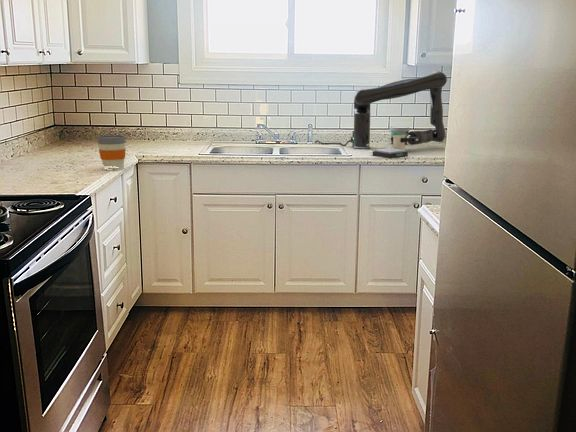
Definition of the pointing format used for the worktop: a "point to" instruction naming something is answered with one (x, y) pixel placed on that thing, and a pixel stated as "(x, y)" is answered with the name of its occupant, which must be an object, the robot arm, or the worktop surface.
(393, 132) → the food container
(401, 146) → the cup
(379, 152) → the scale
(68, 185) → the worktop surface
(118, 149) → the reusable coffee cup
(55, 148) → the worktop surface
